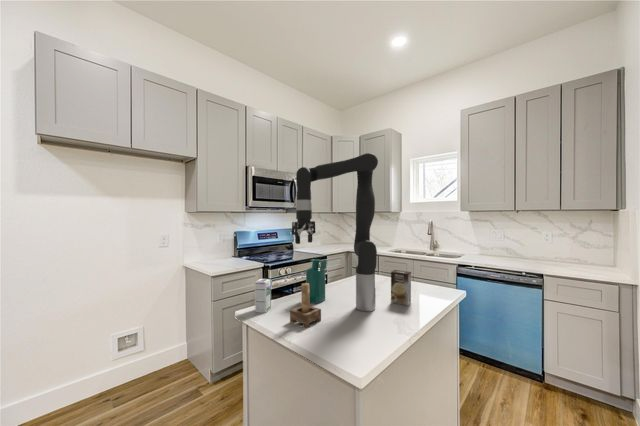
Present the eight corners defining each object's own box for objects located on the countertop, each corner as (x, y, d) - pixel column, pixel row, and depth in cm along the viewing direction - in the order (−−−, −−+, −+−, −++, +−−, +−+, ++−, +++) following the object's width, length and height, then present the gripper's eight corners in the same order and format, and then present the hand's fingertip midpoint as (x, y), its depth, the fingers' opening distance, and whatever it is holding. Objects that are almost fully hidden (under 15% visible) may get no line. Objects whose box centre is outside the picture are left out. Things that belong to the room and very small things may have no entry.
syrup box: (266, 312, 124) (266, 281, 124) (254, 312, 125) (254, 281, 125) (271, 308, 130) (271, 278, 130) (259, 307, 131) (259, 278, 131)
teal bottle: (304, 301, 141) (304, 259, 141) (314, 296, 148) (313, 257, 148) (319, 304, 135) (319, 261, 135) (328, 300, 142) (328, 259, 142)
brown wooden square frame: (305, 315, 121) (304, 304, 121) (321, 320, 115) (320, 309, 115) (290, 322, 113) (290, 310, 113) (306, 328, 107) (306, 315, 107)
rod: (305, 319, 116) (305, 282, 116) (311, 321, 114) (311, 283, 114) (300, 321, 114) (299, 284, 114) (305, 323, 112) (305, 285, 112)
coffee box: (390, 302, 137) (390, 271, 138) (393, 299, 143) (393, 269, 143) (408, 305, 133) (408, 273, 133) (411, 302, 138) (411, 271, 138)
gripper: (299, 209, 120) (299, 245, 120) (319, 209, 131) (319, 242, 131) (287, 209, 125) (287, 243, 125) (308, 209, 136) (308, 241, 136)
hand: (304, 243), depth 128 cm, fingers open, 8 cm apart
